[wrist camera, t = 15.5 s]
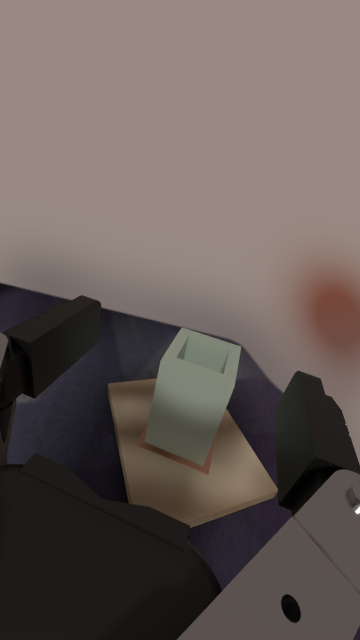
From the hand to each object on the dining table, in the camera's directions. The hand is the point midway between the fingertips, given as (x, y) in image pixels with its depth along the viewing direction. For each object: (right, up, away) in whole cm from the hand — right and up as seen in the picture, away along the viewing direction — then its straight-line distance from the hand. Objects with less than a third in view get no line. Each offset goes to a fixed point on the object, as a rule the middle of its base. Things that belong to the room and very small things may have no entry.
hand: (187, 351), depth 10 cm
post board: (0, -11, +18) cm, 21 cm away
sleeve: (0, -10, +17) cm, 20 cm away
